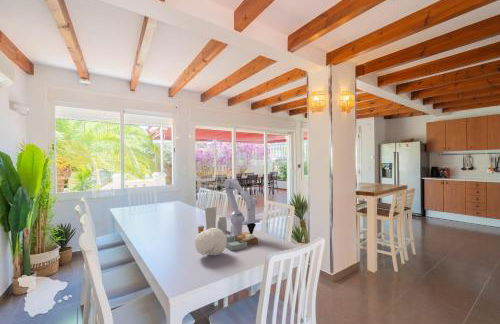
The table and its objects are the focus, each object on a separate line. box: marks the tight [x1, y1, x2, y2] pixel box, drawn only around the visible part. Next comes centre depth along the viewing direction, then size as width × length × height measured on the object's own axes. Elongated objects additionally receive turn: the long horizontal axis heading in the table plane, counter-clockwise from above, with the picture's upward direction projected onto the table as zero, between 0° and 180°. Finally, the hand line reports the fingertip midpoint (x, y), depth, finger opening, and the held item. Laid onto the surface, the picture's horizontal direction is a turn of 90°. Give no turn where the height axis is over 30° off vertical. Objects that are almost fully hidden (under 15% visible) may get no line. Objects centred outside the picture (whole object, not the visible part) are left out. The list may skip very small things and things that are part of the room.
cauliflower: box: [194, 227, 227, 256], centre depth 142 cm, size 20×18×16 cm
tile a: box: [241, 231, 250, 237], centre depth 169 cm, size 4×4×2 cm
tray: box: [225, 236, 248, 252], centre depth 160 cm, size 16×12×4 cm
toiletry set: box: [197, 206, 228, 235], centre depth 187 cm, size 25×8×21 cm, turn 129°
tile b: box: [245, 234, 255, 239], centre depth 164 cm, size 4×4×2 cm
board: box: [235, 234, 259, 247], centre depth 167 cm, size 14×10×4 cm
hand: (251, 233), depth 172 cm, fingers closed
